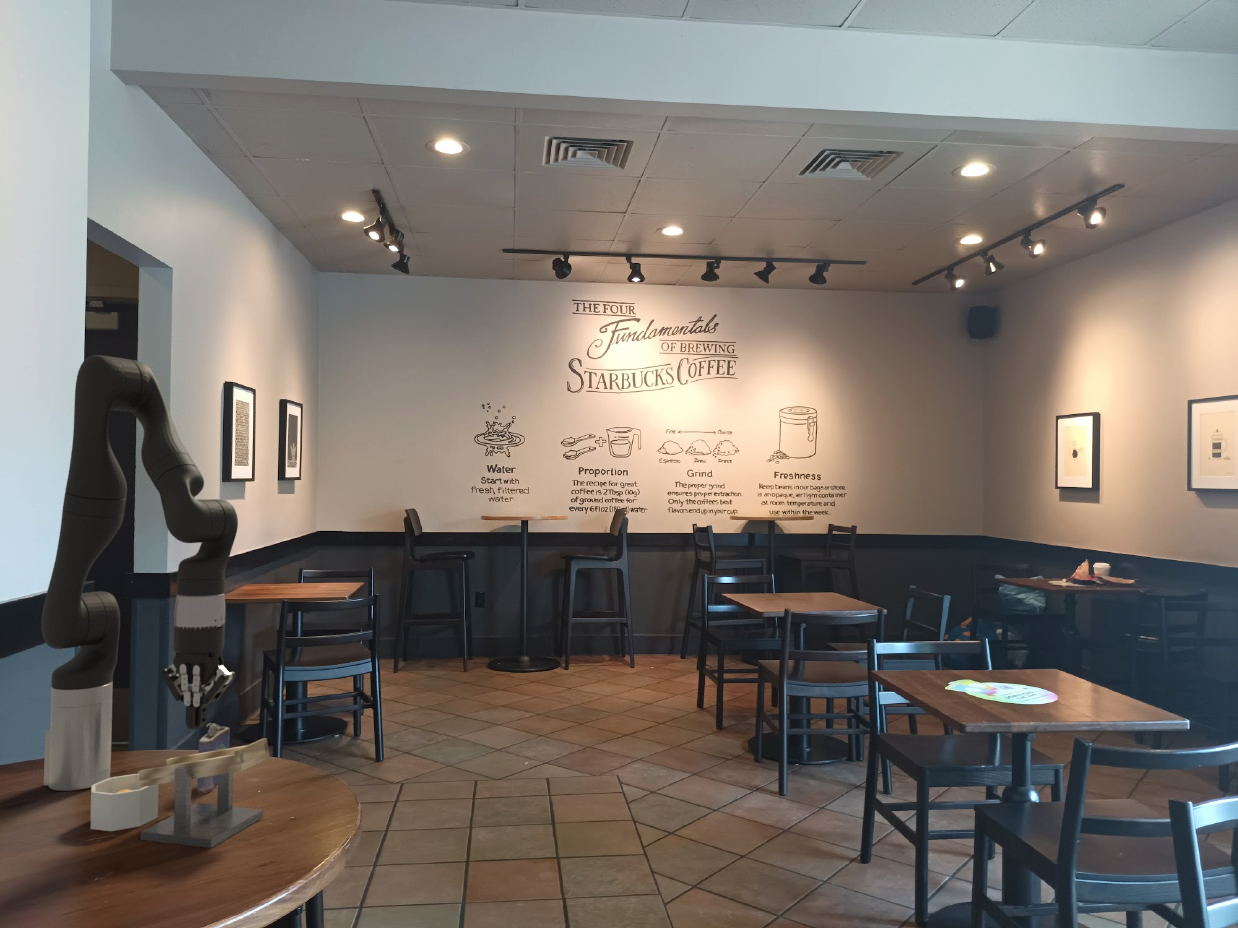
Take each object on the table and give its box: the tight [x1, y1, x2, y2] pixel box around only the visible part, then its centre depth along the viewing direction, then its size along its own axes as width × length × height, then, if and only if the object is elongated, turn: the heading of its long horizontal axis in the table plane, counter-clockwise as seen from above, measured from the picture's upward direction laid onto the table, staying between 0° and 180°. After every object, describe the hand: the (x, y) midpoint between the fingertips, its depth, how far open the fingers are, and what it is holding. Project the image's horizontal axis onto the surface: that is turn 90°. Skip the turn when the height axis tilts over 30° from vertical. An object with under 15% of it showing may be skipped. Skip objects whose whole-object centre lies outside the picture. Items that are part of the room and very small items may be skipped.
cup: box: [89, 773, 160, 832], centre depth 135 cm, size 9×9×6 cm
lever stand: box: [140, 748, 264, 849], centre depth 132 cm, size 12×12×11 cm
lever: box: [137, 737, 271, 787], centre depth 135 cm, size 18×14×3 cm
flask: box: [196, 722, 231, 795], centre depth 151 cm, size 9×3×11 cm, turn 2°
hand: (195, 727), depth 140 cm, fingers closed
